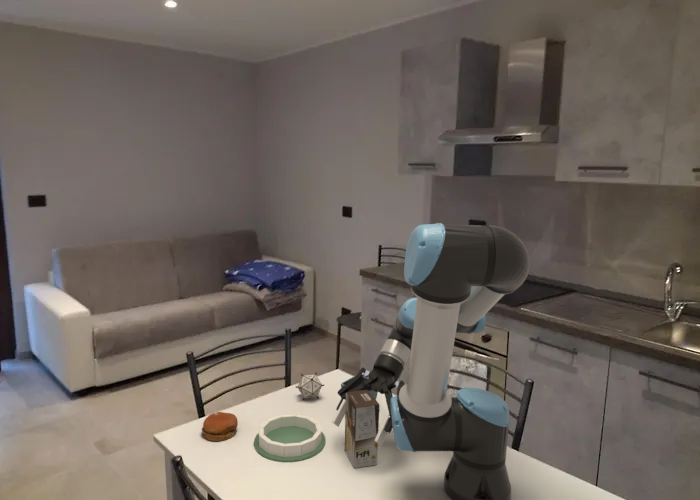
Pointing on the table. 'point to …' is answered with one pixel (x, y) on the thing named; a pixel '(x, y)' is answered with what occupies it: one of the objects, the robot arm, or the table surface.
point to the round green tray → (289, 438)
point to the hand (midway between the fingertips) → (355, 433)
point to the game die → (309, 386)
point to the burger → (219, 426)
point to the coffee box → (361, 428)
